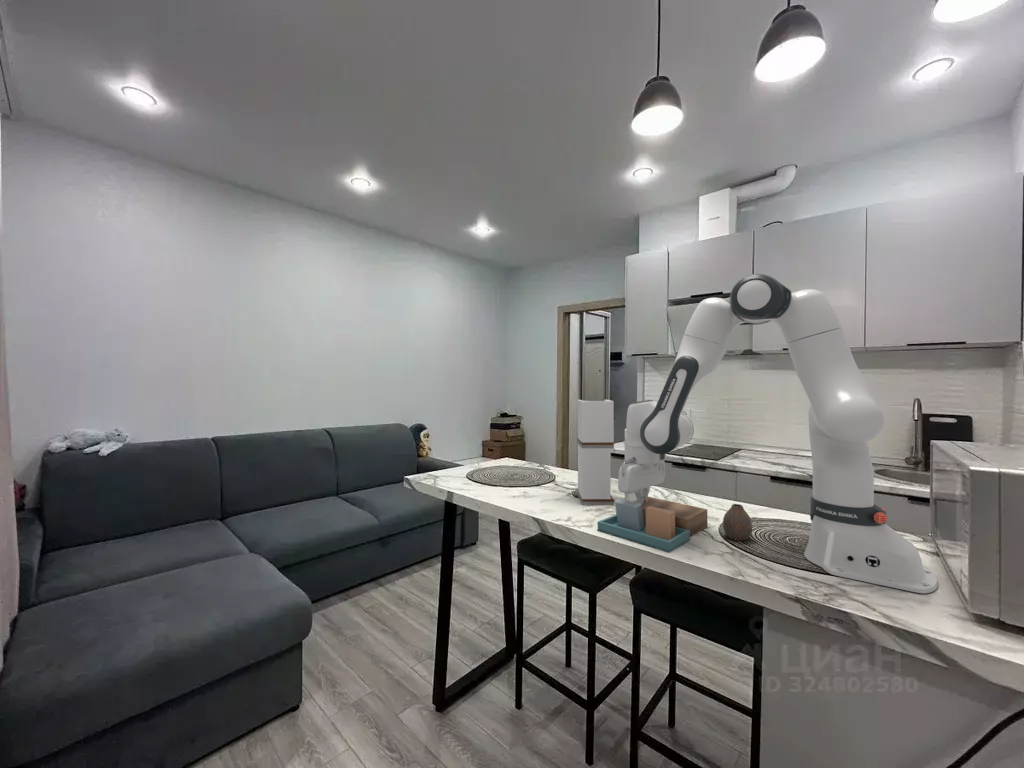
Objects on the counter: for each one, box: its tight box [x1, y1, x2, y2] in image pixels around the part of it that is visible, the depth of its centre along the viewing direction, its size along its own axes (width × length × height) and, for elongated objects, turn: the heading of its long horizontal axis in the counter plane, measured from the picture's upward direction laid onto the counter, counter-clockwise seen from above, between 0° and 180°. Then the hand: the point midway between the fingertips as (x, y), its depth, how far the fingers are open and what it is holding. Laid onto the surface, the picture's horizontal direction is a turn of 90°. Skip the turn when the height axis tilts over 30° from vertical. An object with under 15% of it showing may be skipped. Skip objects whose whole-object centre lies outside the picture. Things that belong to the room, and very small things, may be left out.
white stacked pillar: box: [576, 399, 615, 506], centre depth 148 cm, size 11×11×35 cm
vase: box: [722, 503, 753, 541], centre depth 112 cm, size 7×7×9 cm
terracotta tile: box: [646, 506, 675, 540], centre depth 112 cm, size 7×7×2 cm
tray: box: [597, 514, 691, 553], centre depth 114 cm, size 21×12×2 cm, turn 43°
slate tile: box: [614, 498, 644, 531], centre depth 119 cm, size 7×7×2 cm
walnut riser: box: [633, 496, 708, 538], centre depth 123 cm, size 19×13×5 cm
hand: (642, 503), depth 123 cm, fingers closed
